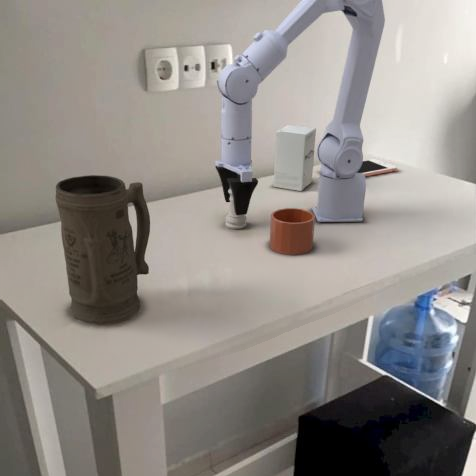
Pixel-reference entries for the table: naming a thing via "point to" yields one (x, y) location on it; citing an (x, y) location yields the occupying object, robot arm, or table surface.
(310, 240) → the cup
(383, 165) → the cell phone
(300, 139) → the white packaging box
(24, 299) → the table surface
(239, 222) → the rook chess piece
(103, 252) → the beer stein
